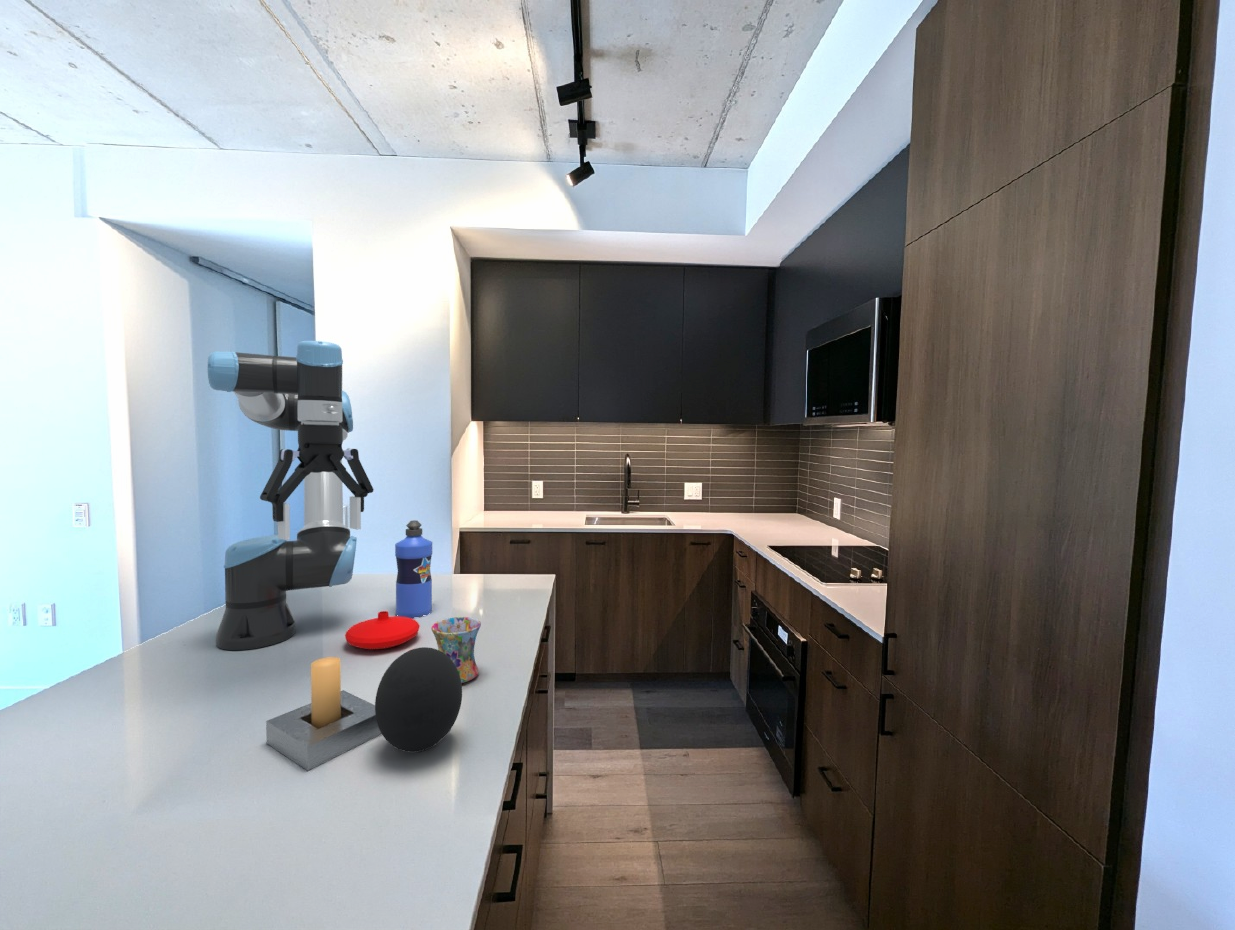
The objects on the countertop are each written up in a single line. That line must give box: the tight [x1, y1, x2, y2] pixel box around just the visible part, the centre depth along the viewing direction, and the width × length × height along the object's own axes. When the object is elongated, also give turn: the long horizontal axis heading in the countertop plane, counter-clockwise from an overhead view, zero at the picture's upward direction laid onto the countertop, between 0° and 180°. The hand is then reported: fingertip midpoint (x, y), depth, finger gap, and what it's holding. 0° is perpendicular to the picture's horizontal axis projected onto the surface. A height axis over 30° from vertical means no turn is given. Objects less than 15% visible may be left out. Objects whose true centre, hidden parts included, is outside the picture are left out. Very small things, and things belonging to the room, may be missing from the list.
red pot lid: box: [344, 610, 421, 650], centre depth 120 cm, size 16×16×7 cm
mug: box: [430, 616, 482, 684], centre depth 104 cm, size 12×9×11 cm
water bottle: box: [394, 519, 433, 619], centre depth 140 cm, size 9×9×25 cm
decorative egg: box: [374, 647, 463, 753], centre depth 79 cm, size 12×12×15 cm
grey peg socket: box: [265, 689, 382, 771], centre depth 81 cm, size 12×12×4 cm
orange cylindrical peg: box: [310, 656, 342, 729], centre depth 81 cm, size 4×4×12 cm
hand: (321, 533), depth 101 cm, fingers open, 13 cm apart
